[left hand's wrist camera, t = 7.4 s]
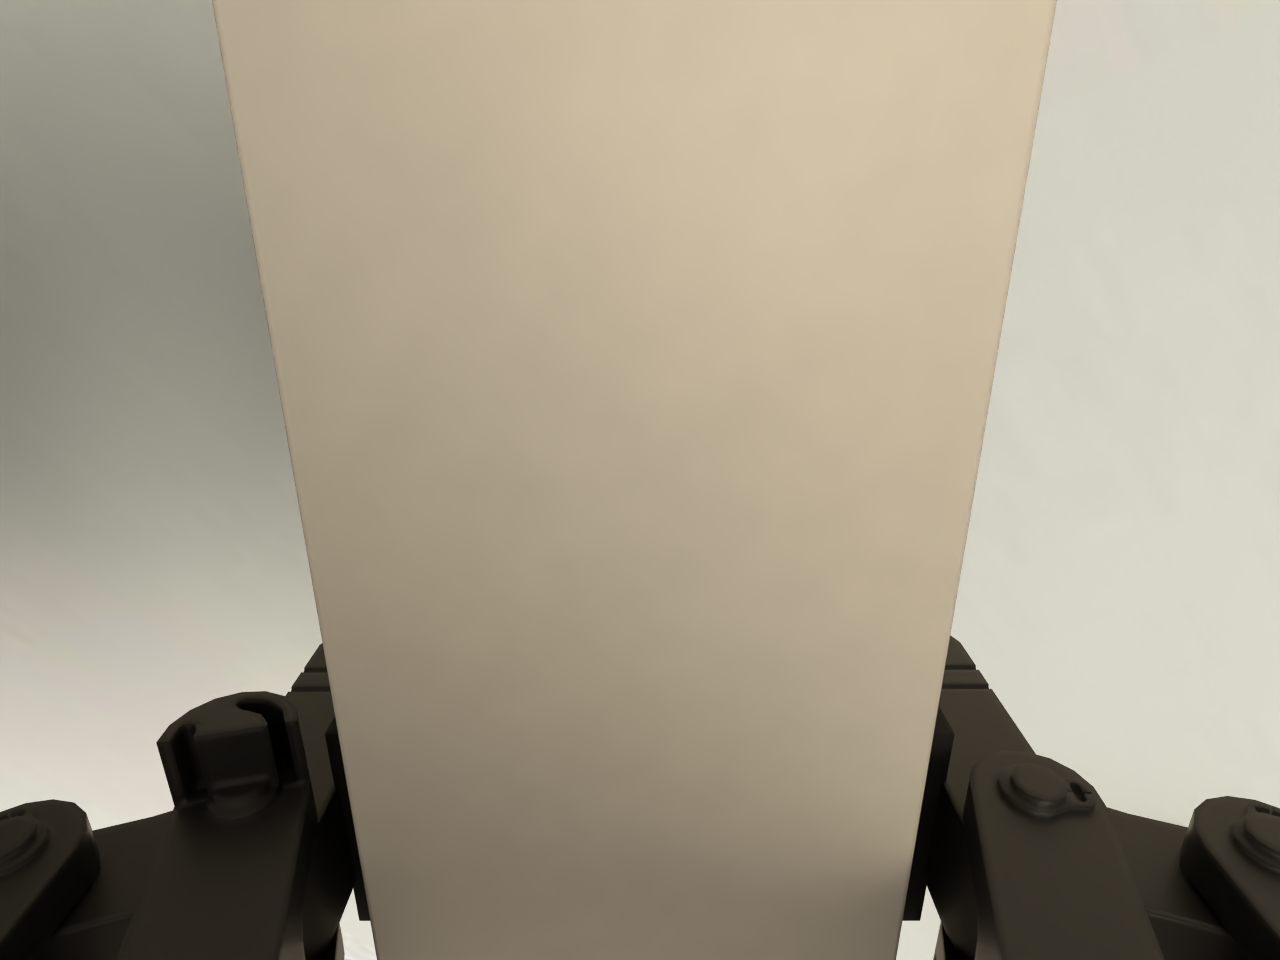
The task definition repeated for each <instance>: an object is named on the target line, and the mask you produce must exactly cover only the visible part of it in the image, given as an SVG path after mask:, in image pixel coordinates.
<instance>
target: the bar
mask: <svg viewBox="0 0 1280 960" xmlns="http://www.w3.org/2000/svg"><path fill="white" fill-rule="evenodd" d="M1056 2H1057V0H212V3H213V9H214V14H215V20H216V26H217V32H218V38H219V43H220V49H221V55H222V61H223V67H224V73H225V78H226V84H227V90H228V96H229V102H230V107H231V113H232V119H233V125H234V131H235V136H236V142H237V148H238V154H239V160H240V165H241V171H242V177H243V183H244V189H245V195H246V200H247V206H248V212H249V218H250V224H251V229H252V235H253V241H254V247H255V253H256V258H257V264H258V270H259V276H260V282H261V288H262V293H263V299H264V305H265V311H266V317H267V322H268V328H269V334H270V340H271V346H272V351H273V357H274V363H275V369H276V375H277V380H278V386H279V392H280V398H281V404H282V410H283V415H284V421H285V427H286V433H287V439H288V444H289V450H290V456H291V462H292V468H293V473H294V479H295V485H296V491H297V497H298V502H299V508H300V514H301V520H302V526H303V532H304V537H305V543H306V549H307V555H308V561H309V566H310V572H311V578H312V584H313V590H314V595H315V601H316V607H317V613H318V619H319V625H320V630H321V636H322V642H323V648H324V654H325V659H326V665H327V671H328V677H329V683H330V688H331V694H332V700H333V706H334V712H335V717H336V723H337V729H338V735H339V741H340V747H341V752H342V758H343V764H344V770H345V776H346V781H347V787H348V793H349V799H350V805H351V810H352V816H353V822H354V828H355V834H356V840H357V845H358V851H359V857H360V863H361V869H362V874H363V880H364V886H365V892H366V898H367V903H368V909H369V915H370V921H371V927H372V932H373V938H374V944H375V950H376V956H377V960H896V955H897V949H898V943H899V937H900V931H901V925H902V919H903V913H904V907H905V901H906V895H907V889H908V883H909V878H910V872H911V866H912V860H913V854H914V848H915V842H916V836H917V830H918V824H919V818H920V812H921V806H922V800H923V794H924V788H925V782H926V776H927V770H928V764H929V758H930V752H931V746H932V741H933V735H934V729H935V723H936V717H937V711H938V705H939V699H940V693H941V687H942V681H943V675H944V669H945V663H946V657H947V651H948V645H949V639H950V633H951V627H952V621H953V615H954V609H955V604H956V598H957V592H958V586H959V580H960V574H961V568H962V562H963V556H964V550H965V544H966V538H967V532H968V526H969V520H970V514H971V508H972V502H973V496H974V490H975V484H976V478H977V472H978V467H979V461H980V455H981V449H982V443H983V437H984V431H985V425H986V419H987V413H988V407H989V401H990V395H991V389H992V383H993V377H994V371H995V365H996V359H997V353H998V347H999V341H1000V335H1001V329H1002V324H1003V318H1004V312H1005V306H1006V300H1007V294H1008V288H1009V282H1010V276H1011V270H1012V264H1013V258H1014V252H1015V246H1016V240H1017V234H1018V228H1019V222H1020V216H1021V210H1022V204H1023V198H1024V192H1025V187H1026V181H1027V175H1028V169H1029V163H1030V157H1031V151H1032V145H1033V139H1034V133H1035V127H1036V121H1037V115H1038V109H1039V103H1040V97H1041V91H1042V85H1043V79H1044V73H1045V67H1046V61H1047V55H1048V50H1049V44H1050V38H1051V32H1052V26H1053V20H1054V14H1055V8H1056Z"/></svg>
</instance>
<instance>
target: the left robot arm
mask: <svg viewBox="0 0 1280 960" xmlns="http://www.w3.org/2000/svg"><path fill="white" fill-rule="evenodd" d="M156 743H157V746H158V750H159V753H160V757H161V760H162V764H163V767H164V771H165V774H166V778H167V781H168V785H169V788H170V792H171V795H172V798H173V802H174V805H175V807H174V809H173V811H170V812H167V813H163V814H160V815H157V816H154V817H150V818H145V819H141V820H137V821H132V822H128V823H124V824H119V825H115V826H111V827H107V828H102V829H98V830H94V831H92V829H91V826H90V823H89V820H88V817H87V814H86V812H84V811H83V810H82V809H81V808H80V807H79V806H77V805H76V804H75V803H73V802H66V801H60V800H46V801H39V802H32V803H25V804H22V805H19V806H17V807H14V808H11V809H8V810H5V811H2V812H0V960H344V947H343V940H342V934H341V929H340V924H339V922H340V919H341V917H342V914H343V912H344V909H345V907H346V904H347V902H348V899H349V897H350V894H351V892H352V889H353V888H354V894H355V899H356V904H357V910H358V915H359V920H360V921H370V915H369V909H368V903H367V898H366V892H365V886H364V880H363V874H362V869H361V863H360V857H359V851H358V845H357V840H356V834H355V828H354V822H353V816H352V810H351V805H350V799H349V793H348V787H347V781H346V776H345V770H344V764H343V758H342V752H341V747H340V741H339V735H338V729H337V723H336V717H335V712H334V706H333V700H332V694H331V688H330V683H329V677H328V671H327V665H326V659H325V654H324V648H323V643H322V644H321V645H319V647H318V648H317V650H316V651H315V653H314V654H313V656H312V657H311V659H310V660H309V662H308V663H307V665H306V666H305V668H304V673H301V674H300V675H299V677H298V678H297V680H296V681H295V683H294V684H293V686H292V690H291V692H288V693H287V695H286V696H282V695H278V694H274V693H270V692H266V691H262V692H241V693H237V694H233V695H229V696H225V697H221V698H217V699H214V700H212V701H209V702H207V703H205V704H203V705H201V706H198V707H196V708H194V709H192V710H190V711H188V712H187V713H186V714H184V715H183V716H182V717H180V718H179V719H178V720H176V721H175V722H173V723H172V724H171V725H169V727H168V728H167V729H166V731H165V732H164V733H163V735H162V736H161V737H160V739H159V740H158V741H157V742H156ZM926 886H927V887H928V889H929V892H930V894H931V897H932V899H933V902H934V904H935V907H936V909H937V912H938V914H939V917H940V919H941V924H940V929H939V934H938V939H937V944H936V949H935V954H934V959H933V960H1280V808H1277V807H1274V806H1271V805H1268V804H1265V803H1262V802H1259V801H1256V800H1251V799H1244V798H1237V797H1230V796H1225V797H1218V798H1212V799H1206V800H1205V801H1204V802H1203V803H1201V804H1200V805H1199V806H1198V807H1197V808H1196V809H1194V812H1193V815H1192V818H1191V821H1190V824H1189V827H1188V828H1187V827H1183V826H1179V825H1174V824H1170V823H1166V822H1162V821H1157V820H1153V819H1149V818H1144V817H1140V816H1136V815H1131V814H1127V813H1124V812H1121V811H1117V810H1114V809H1111V808H1107V807H1106V805H1105V804H1104V802H1103V801H1102V799H1101V798H1100V796H1099V795H1098V793H1097V792H1096V790H1095V788H1094V787H1093V786H1092V785H1090V784H1089V783H1088V782H1087V781H1086V780H1084V779H1083V778H1082V777H1081V776H1080V775H1078V774H1077V773H1076V772H1075V771H1073V770H1071V769H1070V768H1068V767H1066V766H1064V765H1062V764H1060V763H1058V762H1056V761H1054V760H1052V759H1050V758H1046V757H1043V756H1039V755H1036V754H1035V752H1034V751H1033V749H1032V748H1031V747H1030V745H1029V744H1028V742H1027V741H1026V739H1025V738H1024V736H1023V735H1022V733H1021V732H1020V730H1019V729H1018V727H1017V726H1016V724H1015V723H1014V721H1013V720H1012V718H1011V717H1010V715H1009V714H1008V713H1007V711H1006V710H1005V708H1004V707H1003V705H1002V704H1001V702H1000V701H999V699H998V698H997V696H996V695H995V693H994V692H993V690H992V689H989V687H988V683H987V681H986V680H985V679H984V677H983V676H982V674H981V673H980V671H979V670H976V665H975V664H974V662H973V661H972V659H971V658H970V656H969V655H968V653H967V652H966V650H965V649H964V647H963V646H962V645H961V643H960V642H959V641H957V640H956V639H955V638H953V637H952V636H950V639H949V645H948V651H947V657H946V663H945V669H944V675H943V681H942V687H941V693H940V699H939V705H938V711H937V717H936V723H935V729H934V735H933V741H932V746H931V752H930V758H929V764H928V770H927V776H926V782H925V788H924V794H923V800H922V806H921V812H920V818H919V824H918V830H917V836H916V842H915V848H914V854H913V860H912V866H911V872H910V878H909V883H908V889H907V895H906V901H905V907H904V913H903V919H902V921H920V918H921V912H922V907H923V902H924V896H925V891H926Z"/></svg>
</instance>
